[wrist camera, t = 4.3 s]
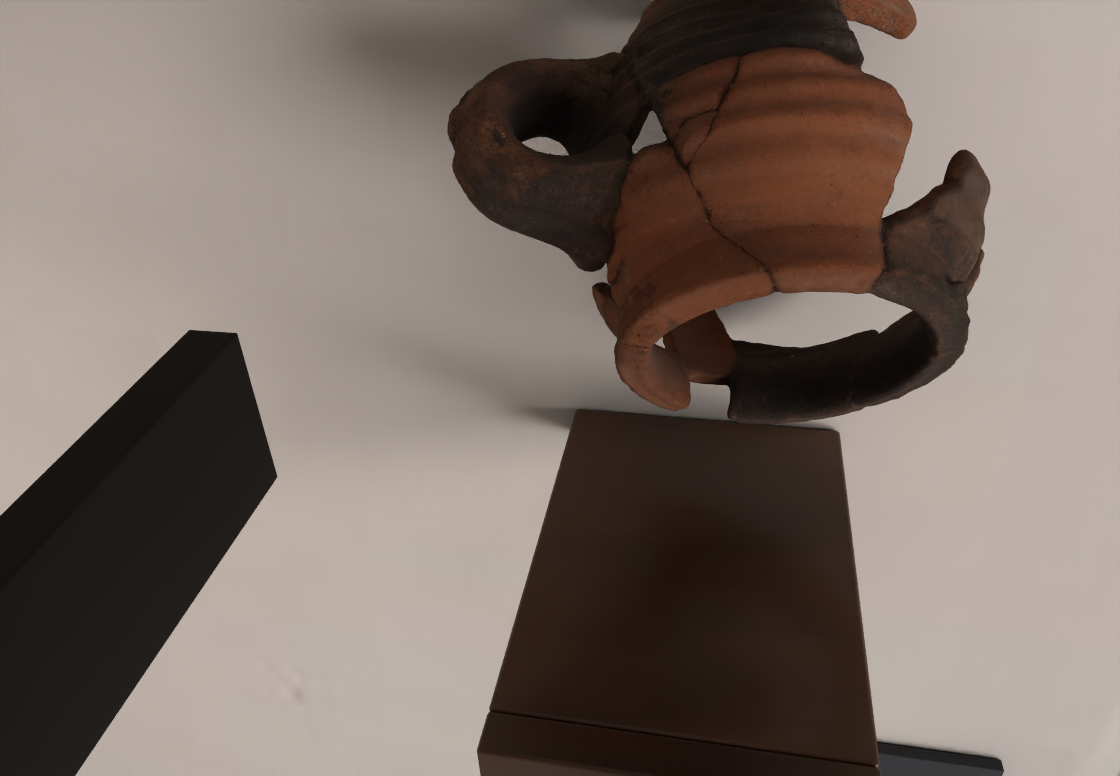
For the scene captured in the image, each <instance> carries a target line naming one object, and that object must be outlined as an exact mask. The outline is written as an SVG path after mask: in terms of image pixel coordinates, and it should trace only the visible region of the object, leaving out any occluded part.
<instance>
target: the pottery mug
mask: <svg viewBox="0 0 1120 776" xmlns="http://www.w3.org/2000/svg"><path fill="white" fill-rule="evenodd" d="M847 20H849V21H856V22H859V23H861V24H864V25H868V26H870V27H873V28H875V29H877V30H879V31H882V32H885V33H886V34H889V35H891V36H893V37H895V38H897V39H905V38H907V37H908V36H909V35H910V34H911V33H912V31H913V30H914V29H915V27H916V15H915V12H914V10H913V7H912V6H911V4H910V3H909V1H908V0H654V1H653V2H652V3H651V4H650V5H649V6H648V7H647V8H646V9H645V10H644V12H643V15H642V17H641V20H640V23H639V24H638V26H637V28H636V29H635V31H634V32H633V33H632V35H631V36H630V38H629V40H628V43H627V44H626V45H625V46H624V47H623V49H622V51H621V53H616V52H611V53H608V54H605V55H603V56H600V57H596V58H591V59H578V60H575V59H551V58H541V59H529V60H522V61H516V62H512V63H510V64H507V65H505V66H502V67H500V68H498V69H496V70H494V71H493V72H491V73H490V74H488V75H487V76H486V77H485V78H484V79H482V80H481V81H479V82H478V83H476V84H475V85H474V87H473V88H472V89H470V90H468V91H467V92H466V93H465V95H464V96H463V97H462V98H461V99H460V102H459V104H458V105H457V106H456V107H455V108H454V109H453V110H452V111H451V113H450V115H449V121H448V136H449V139H450V141H451V143H452V145H453V148H454V150H455V154H454V159H453V164H452V167H453V171H454V174H455V176H456V179H457V181H458V182H459V184H460V185H461V187H462V189H463V191H464V192H465V194H466V195H467V197H468V199H469V200H470V201H471V202H472V204H473V205H474V206H475V207H476V208H477V209H478V210H479V211H480V212H481V213H482V214H484V215H485V216H486V217H487V218H489V219H490V220H492V221H494V222H495V223H497V224H499V225H501V226H503V227H505V228H507V229H509V230H511V231H515V232H518V233H520V234H523V235H526V236H529V237H532V238H535V239H537V240H540V241H543V242H545V243H548V244H551V245H553V246H555V247H558V248H560V249H561V250H563V251H564V252H565V253H567V254H568V255H569V256H570V258H571V259H572V260H573V262H574V263H575V264H576V265H577V267H578V268H580V269H582V270H584V271H589V272H594V271H597V270H600V269H601V268H603V267H604V265H605V263H607V268H608V274H607V280H608V283H609V284H610V285H609V284H607V283H605V282H601V283H597V284H595V285H593V287H592V289H593V291H592V292H593V297H594V300H595V302H596V305H597V308H598V310H599V312H600V314H601V315H602V317H603V319H604V320H605V323H606V324H607V326H608V328H609V329H610V330H611V332H612V333H613V334H614V335H615V336H616V337H617V342H616V345H615V348H614V354H615V364H616V368H617V371H618V374H619V375H620V378H621V380H622V381H623V382H624V383H625V384H626V385H628V386H629V388H630V389H631V391H633V392H635V393H636V394H638V395H639V396H640V397H642V398H643V399H645V400H647V401H649V402H651V403H652V404H655V405H657V406H659V407H662V408H665V409H668V410H673V411H677V410H679V409H685V408H687V407H688V406H689V403H690V400H691V394H690V382H694V383H701V384H715V385H727V386H728V387H729V388H730V404H729V408H728V412H727V415H728V418H729V419H731V420H734V421H736V422H738V423H745V424H757V423H758V424H779V423H790V422H803V421H809V420H816V419H824V418H829V417H834V416H839V415H843V414H847V413H850V412H854V411H858V410H861V409H863V408H864V407H867V406H874V405H878V404H881V403H884V402H887V401H890V400H893V399H898V398H900V397H902V396H904V395H906V394H907V393H908V392H910V391H912V390H915V389H917V388H920V387H922V386H924V385H926V384H928V383H929V382H931V381H932V380H934V379H935V378H937V377H938V376H939V375H941V374H942V373H944V372H946V371H947V370H948V369H949V368H951V366H952V365H953V364H955V361H956V360H957V359H958V358H959V357H960V356H961V355H962V354H963V352H964V349H965V347H964V346H965V345H966V342H967V340H968V327H969V323H970V318H969V316H968V314H967V310H968V302H967V296H968V294H969V293H970V291H971V290H972V288H973V286H974V283H975V281H976V280H977V278H978V276H979V273H980V264H981V262H982V260H983V258H984V252H983V250H982V249H981V247H982V244H983V242H984V235H985V226H984V211H985V207H986V204H987V201H988V198H989V195H990V183H989V180H988V178H987V176H986V175H985V173H984V171H983V169H982V167H981V166H980V164H979V162H978V160H977V158H976V157H975V156H974V155H973V154H972V153H971V152H969V151H967V150H960V151H958V152H957V153H956V154H955V155H954V156H953V157H952V158H951V160H950V162H949V164H948V167H947V170H946V173H945V177H944V181H943V184H941V185H939V186H936V187H934V188H933V189H932V190H931V191H930V192H929V193H928V194H927V195H926V196H925V197H923V198H922V199H920V200H919V201H917V202H916V203H914V204H913V205H911V206H910V207H908V208H906V209H903V210H900V211H897V212H895V213H894V214H891V215H889V216H887V217H884V218H882V214H883V210H884V208H885V206H886V205H887V203H888V202H889V199H890V197H891V195H892V193H893V190H894V182H895V178H896V176H897V174H898V172H899V170H900V168H901V164H902V162H903V158H904V154H905V150H906V147H907V144H908V142H909V139H910V136H911V131H912V121H911V119H910V118H909V117H908V115H907V112H906V108H905V105H904V102H903V100H902V98H901V97H900V96H899V94H898V92H897V90H896V89H895V88H894V87H893V86H892V85H891V84H889V83H887V82H885V81H883V80H881V79H878V78H876V77H874V76H872V75H869V74H866V73H864V72H862V71H861V66H862V63H863V60H864V57H863V54H862V52H861V50H860V48H859V45H858V42H857V39H856V37H855V35H854V33H853V31H852V30H850V29H849V26H848V23H847ZM651 110H652V111H654V112H655V113H656V115H657V117H658V120H659V121H660V124H661V126H662V129H663V132H664V134H665V135H666V137H667V141H664V142H662V143H660V144H653V145H649V146H646V147H643V148H642V149H640V150H639V151H638V152H637V153H635V154H633V152H632V146H633V144H634V143H635V141H636V139H637V138H638V136H639V134H640V131H641V129H642V127H643V124H644V122H645V120H646V118H647V116H648V114H649V112H650V111H651ZM535 137H548V138H551V139H553V140H556V141H558V142H560V143H561V144H562V145H563V146H564V147H565V149H566V150H567V152H568V154H569V155H565V156H560V155H552V154H546V153H542V152H537V151H535V150H533V149H531V148H528V147H526V146H525V145H524V144H522V143H521V142H523V141H526V140H528V139H531V138H535ZM774 292H782V293H797V292H847V293H854V294H863V293H871V294H874V295H876V296H877V297H880V298H883V299H885V300H888V301H891V302H894V303H897V304H899V305H902V306H905V307H907V308H909V309H911V310H913V311H912V312H910V313H908V314H906V315H905V316H903V317H902V318H901V319H899V320H898V321H896V322H895V323H893V324H892V325H890V326H889V327H888V328H887V329H886V330H884V331H883V332H881V333H878V332H877V331H876V330H869V331H864V332H861V333H856V334H853V335H851V336H848V337H845V338H842V339H839V340H836V341H832V342H829V343H825V344H820V345H815V346H812V347H805V348H798V347H781V346H773V345H767V344H761V343H750V342H746V341H735V340H732V339H731V338H730V337H729V335H728V334H727V332H726V329H725V327H724V324H723V323H722V322H721V320H720V318H719V317H718V315H717V313H716V311H715V310H714V309H717V308H720V307H723V306H726V305H729V304H731V303H734V302H739V301H744V300H750V299H754V298H758V297H763V296H767V295H769V294H772V293H774ZM662 336H663V343H664V345H665V348H663V347H660V346H658V345H656V344H654V343H656V342H657V341H658V340H659V339H660V338H661V337H662ZM689 381H690V382H689Z"/></svg>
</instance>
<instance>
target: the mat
mask: <svg viewBox="0 0 1120 776" xmlns="http://www.w3.org/2000/svg"><path fill="white" fill-rule="evenodd" d="M877 749H878V757H879V767H878V768H879V770H880V773H881V776H1002V775H1003V772H1004V769H1003V765H1002V761H1001V760H997V759H990V758H983V757H976V756H969V755H962V754H955V753H947V752H940V751H933V750H926V749H919V748H912V747H905V746H897V745H890V744H883V743H877Z"/></svg>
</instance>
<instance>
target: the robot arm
mask: <svg viewBox="0 0 1120 776" xmlns="http://www.w3.org/2000/svg"><path fill="white" fill-rule="evenodd" d="M276 478H277V474H276V470H275V467H274V463H273V460H272V456H271V453H270V449H269V445H268V442H267V438H266V435H265V431H264V428H263V424H262V420H261V417H260V413H259V410H258V406H257V403H256V399H255V396H254V392H253V388H252V385H251V381H250V378H249V374H248V371H247V367H246V363H245V360H244V356H243V353H242V349H241V346H240V342H239V339H238V335H237V333H226V332H211V331H197V330H189V331H188V332H187V333H186V334H185V335H184V336H183V337H182V338H181V339H180V340H179V341H178V342H177V343H176V344H175V345H174V346H173V347H172V348H171V349H170V350H169V351H168V352H166V353H165V354H164V355H163V356H162V357H161V358H160V359H159V360H158V361H157V362H156V363H155V364H154V365H153V366H152V367H151V368H150V369H149V370H148V371H147V372H146V373H145V374H144V375H143V376H142V377H141V378H140V379H139V380H138V381H137V382H136V383H135V384H134V385H133V386H132V387H131V388H130V389H129V390H128V391H127V392H126V393H125V394H124V395H123V396H122V397H121V398H120V399H119V400H118V401H117V402H116V403H115V404H114V405H113V406H112V407H111V408H110V409H109V410H107V411H106V412H105V413H104V414H103V415H102V416H101V417H100V418H99V419H98V420H97V421H96V422H95V423H94V424H93V425H92V426H91V427H90V428H89V429H88V430H87V431H86V432H85V433H84V434H83V435H82V436H81V437H80V438H79V439H78V440H77V441H76V442H75V443H74V444H73V445H72V446H71V447H70V448H69V449H68V450H67V451H66V452H65V453H64V454H63V455H62V456H61V457H60V458H59V459H58V460H57V461H56V462H55V463H54V464H53V465H52V466H51V467H50V468H48V469H47V470H46V471H45V472H44V473H43V474H42V475H41V476H40V477H39V478H38V479H37V480H36V481H35V482H34V483H33V484H32V485H31V486H30V487H29V488H28V489H27V490H26V491H25V492H24V493H23V494H22V495H21V496H20V497H19V498H18V499H17V500H16V501H15V502H14V503H13V504H12V505H11V506H10V507H9V508H8V509H7V510H6V511H5V512H4V513H3V514H2V515H1V516H0V776H75V775H76V774H77V772H78V771H79V769H80V768H81V766H82V765H83V763H84V762H85V760H86V759H87V757H88V756H89V754H90V753H91V751H92V750H93V748H94V747H95V746H96V744H97V743H98V741H99V740H100V738H101V737H102V735H103V734H104V732H105V731H106V729H107V728H108V726H109V725H110V723H111V722H112V720H113V719H114V717H115V716H116V714H117V713H118V712H119V710H120V709H121V707H122V706H123V704H124V703H125V701H126V700H127V698H128V697H129V695H130V694H131V692H132V691H133V689H134V688H135V686H136V685H137V683H138V682H139V681H140V679H141V678H142V676H143V675H144V673H145V672H146V670H147V669H148V667H149V666H150V664H151V663H152V661H153V660H154V658H155V657H156V655H157V654H158V652H159V651H160V650H161V648H162V647H163V645H164V644H165V642H166V641H167V639H168V638H169V636H170V635H171V633H172V632H173V630H174V629H175V627H176V626H177V624H178V623H179V621H180V620H181V619H182V617H183V616H184V614H185V613H186V611H187V610H188V608H189V607H190V605H191V604H192V602H193V601H194V599H195V598H196V596H197V595H198V593H199V592H200V590H201V589H202V588H203V586H204V585H205V583H206V582H207V580H208V579H209V577H210V576H211V574H212V573H213V571H214V570H215V568H216V567H217V565H218V564H219V562H220V561H221V559H222V558H223V557H224V555H225V554H226V552H227V551H228V549H229V548H230V546H231V545H232V543H233V542H234V540H235V539H236V537H237V536H238V534H239V533H240V531H241V530H242V528H243V527H244V525H245V524H246V523H247V521H248V520H249V518H250V517H251V515H252V514H253V512H254V511H255V509H256V508H257V506H258V505H259V503H260V502H261V500H262V499H263V497H264V496H265V494H266V493H267V492H268V490H269V489H270V487H271V486H272V484H273V483H274V481H275V480H276Z"/></svg>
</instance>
